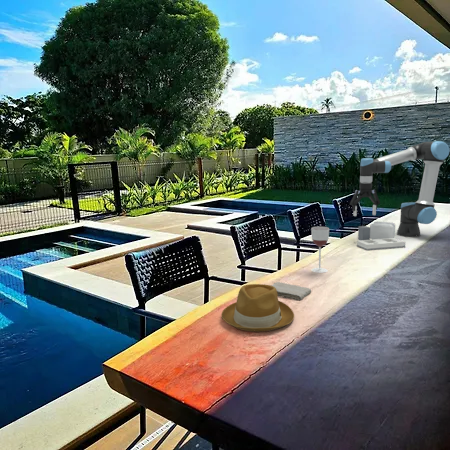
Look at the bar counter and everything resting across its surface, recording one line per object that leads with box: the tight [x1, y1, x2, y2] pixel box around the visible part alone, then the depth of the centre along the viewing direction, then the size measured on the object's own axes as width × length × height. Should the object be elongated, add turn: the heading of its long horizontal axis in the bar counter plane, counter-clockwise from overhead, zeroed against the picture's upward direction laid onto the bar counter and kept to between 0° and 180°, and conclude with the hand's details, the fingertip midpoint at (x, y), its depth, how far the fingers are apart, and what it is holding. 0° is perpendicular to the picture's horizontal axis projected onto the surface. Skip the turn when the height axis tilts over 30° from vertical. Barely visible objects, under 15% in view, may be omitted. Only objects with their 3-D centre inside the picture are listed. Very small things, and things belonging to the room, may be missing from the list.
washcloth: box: [270, 281, 312, 301], centre depth 174 cm, size 12×18×3 cm, turn 55°
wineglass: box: [310, 226, 330, 274], centre depth 203 cm, size 9×10×22 cm
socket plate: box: [356, 237, 406, 251], centre depth 250 cm, size 26×12×4 cm, turn 101°
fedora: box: [221, 283, 295, 333], centre depth 148 cm, size 27×29×12 cm
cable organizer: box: [369, 220, 396, 240], centre depth 268 cm, size 15×11×12 cm
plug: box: [357, 225, 371, 241], centre depth 261 cm, size 5×6×10 cm
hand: (364, 215), depth 259 cm, fingers open, 13 cm apart
